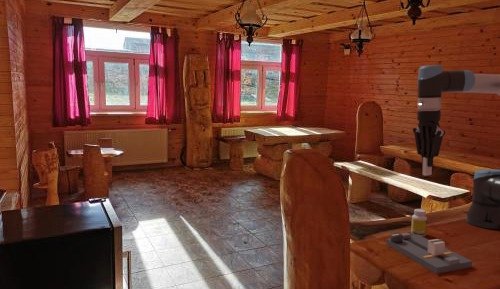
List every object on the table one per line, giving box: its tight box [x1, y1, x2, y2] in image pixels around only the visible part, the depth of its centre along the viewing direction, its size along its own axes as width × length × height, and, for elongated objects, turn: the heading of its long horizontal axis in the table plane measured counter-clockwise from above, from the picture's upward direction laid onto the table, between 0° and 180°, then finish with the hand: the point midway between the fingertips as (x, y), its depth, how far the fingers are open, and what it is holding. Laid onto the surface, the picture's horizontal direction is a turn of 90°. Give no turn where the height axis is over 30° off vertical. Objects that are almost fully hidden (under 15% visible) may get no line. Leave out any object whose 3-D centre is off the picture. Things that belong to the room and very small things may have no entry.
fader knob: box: [428, 238, 446, 255], centre depth 125 cm, size 4×3×4 cm
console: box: [385, 232, 473, 274], centre depth 129 cm, size 14×24×5 cm, turn 18°
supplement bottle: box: [410, 208, 428, 237], centre depth 147 cm, size 5×5×10 cm
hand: (427, 174), depth 137 cm, fingers closed
